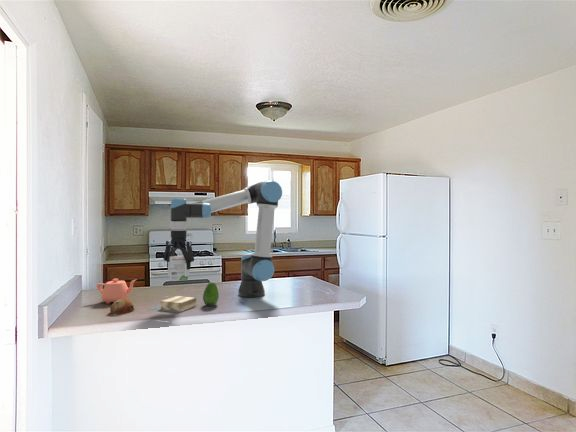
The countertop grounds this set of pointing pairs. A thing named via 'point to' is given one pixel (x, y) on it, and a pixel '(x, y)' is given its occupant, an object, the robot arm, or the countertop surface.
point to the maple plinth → (178, 303)
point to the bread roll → (121, 306)
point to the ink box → (177, 268)
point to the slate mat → (163, 309)
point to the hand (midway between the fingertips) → (178, 275)
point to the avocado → (211, 294)
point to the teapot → (115, 290)
